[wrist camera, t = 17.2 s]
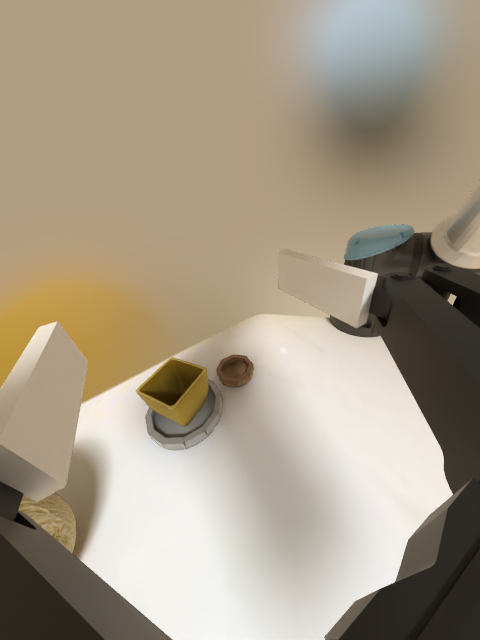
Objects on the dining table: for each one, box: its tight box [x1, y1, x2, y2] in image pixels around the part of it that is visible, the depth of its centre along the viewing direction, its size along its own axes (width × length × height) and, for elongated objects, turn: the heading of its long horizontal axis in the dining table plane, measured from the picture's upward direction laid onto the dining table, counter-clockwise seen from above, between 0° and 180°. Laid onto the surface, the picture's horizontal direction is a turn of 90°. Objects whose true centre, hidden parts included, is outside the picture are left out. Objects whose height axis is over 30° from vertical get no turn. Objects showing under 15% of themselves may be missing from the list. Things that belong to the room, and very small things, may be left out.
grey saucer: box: [146, 380, 222, 450], centre depth 40 cm, size 14×14×2 cm
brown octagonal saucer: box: [217, 355, 253, 387], centre depth 46 cm, size 8×8×2 cm
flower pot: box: [136, 357, 208, 426], centre depth 38 cm, size 9×9×9 cm
